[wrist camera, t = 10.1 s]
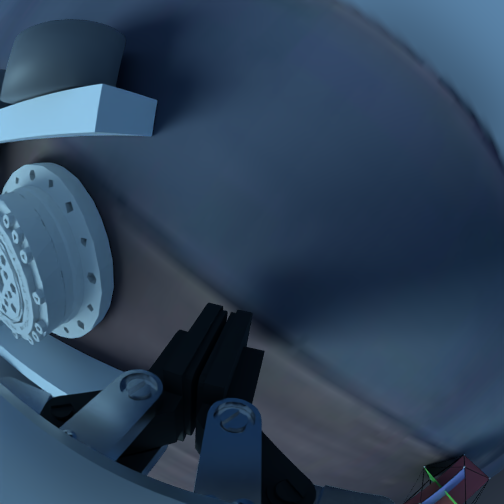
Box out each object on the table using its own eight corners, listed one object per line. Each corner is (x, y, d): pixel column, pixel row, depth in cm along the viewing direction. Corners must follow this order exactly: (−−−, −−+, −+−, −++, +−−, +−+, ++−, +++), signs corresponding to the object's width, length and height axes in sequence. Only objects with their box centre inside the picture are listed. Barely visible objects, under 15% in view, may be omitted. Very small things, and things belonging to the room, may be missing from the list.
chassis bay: (155, 419, 16) (124, 473, 11) (20, 345, 17) (-14, 374, 13) (168, 45, 9) (92, -4, 4) (-1, 90, 10) (-55, 91, 6)
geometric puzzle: (501, 440, 10) (458, 538, 5) (496, 465, 11) (459, 541, 6) (425, 437, 15) (377, 520, 11) (435, 462, 17) (395, 529, 12)
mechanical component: (55, 123, 11) (0, 230, 14) (-11, 124, 6) (-45, 248, 10) (153, 280, 12) (70, 345, 15) (96, 331, 8) (31, 382, 11)
